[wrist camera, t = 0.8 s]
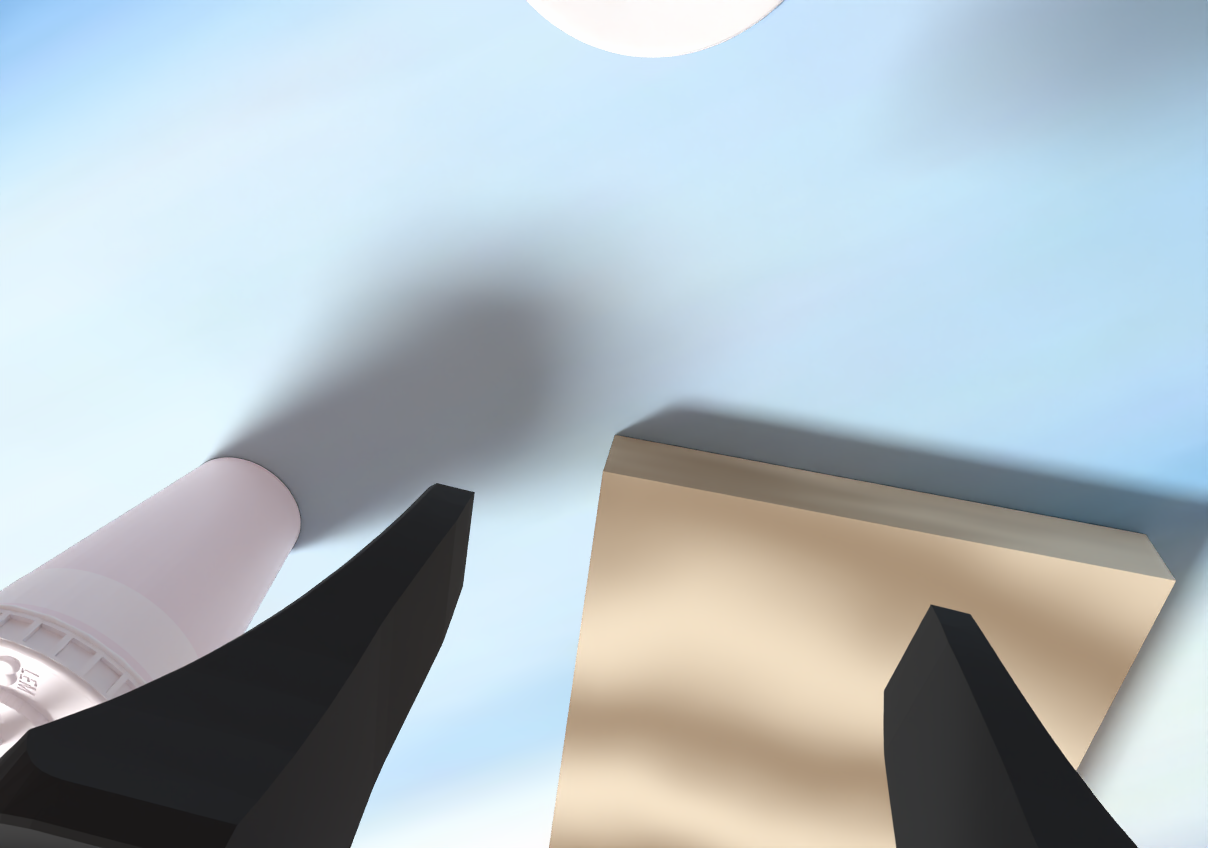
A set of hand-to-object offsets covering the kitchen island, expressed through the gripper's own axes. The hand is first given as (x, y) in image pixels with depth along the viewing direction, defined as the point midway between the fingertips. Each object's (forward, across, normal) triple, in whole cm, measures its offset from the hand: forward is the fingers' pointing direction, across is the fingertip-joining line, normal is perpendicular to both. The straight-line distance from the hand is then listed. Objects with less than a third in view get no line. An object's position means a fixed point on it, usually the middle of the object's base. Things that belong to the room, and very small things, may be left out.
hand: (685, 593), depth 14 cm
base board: (+9, -6, +13) cm, 16 cm away
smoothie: (+10, +12, +10) cm, 19 cm away
